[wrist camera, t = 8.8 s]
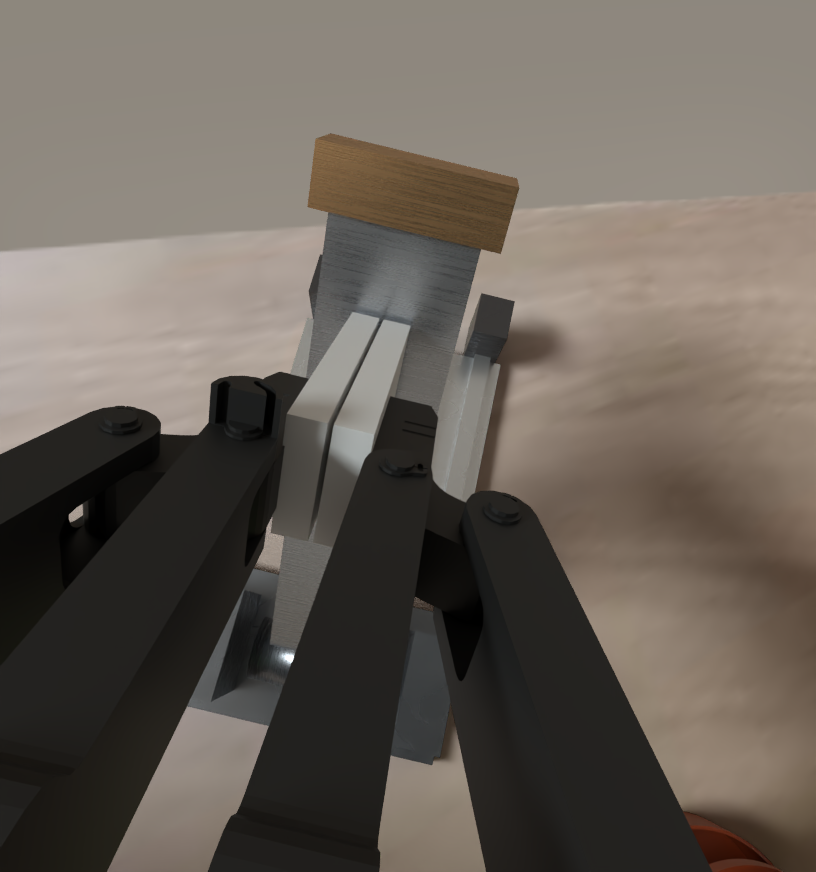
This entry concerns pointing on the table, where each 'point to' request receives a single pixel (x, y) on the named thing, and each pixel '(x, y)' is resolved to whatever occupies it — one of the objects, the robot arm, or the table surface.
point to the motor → (727, 848)
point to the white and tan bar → (385, 303)
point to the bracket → (423, 667)
